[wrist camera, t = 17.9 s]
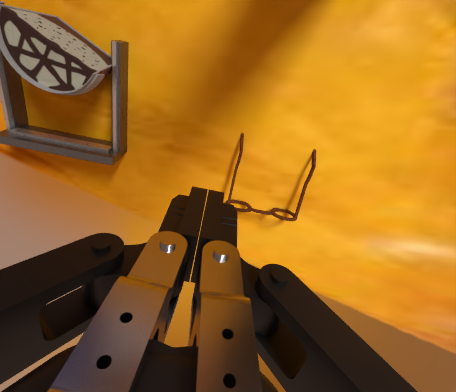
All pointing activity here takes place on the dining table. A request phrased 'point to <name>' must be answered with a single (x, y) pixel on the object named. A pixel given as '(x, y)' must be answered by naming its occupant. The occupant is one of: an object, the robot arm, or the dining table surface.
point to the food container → (51, 52)
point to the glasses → (273, 208)
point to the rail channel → (61, 141)
